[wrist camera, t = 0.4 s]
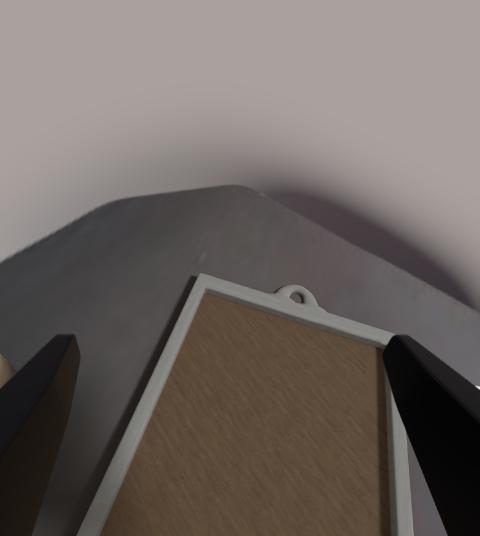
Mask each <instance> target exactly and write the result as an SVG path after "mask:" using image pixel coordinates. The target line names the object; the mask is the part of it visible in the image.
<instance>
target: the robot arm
mask: <svg viewBox="0 0 480 536" xmlns="http://www.w3.org/2000/svg"><path fill="white" fill-rule="evenodd" d="M382 359H383V363H384V366H385V370H386V373H387V377H388V380H389V384H390V387H391V391H392V394H393V397H394V401H395V404H396V407H397V410H398V412H399V415H400V417H401V420H402V422H403V425H404V427H405V430H406V432H407V435H408V437H409V440H410V442H411V445H412V447H413V450H414V452H415V455H416V457H417V460H418V462H419V465H420V467H421V470H422V472H423V475H424V477H425V480H426V482H427V485H428V487H429V490H430V492H431V495H432V497H433V500H434V502H435V505H436V507H437V510H438V512H439V515H440V517H441V520H442V522H443V525H444V527H445V530H446V533H447V535H448V536H480V389H478V388H477V387H476V386H474V385H473V384H472V383H471V382H469V381H468V380H467V379H465V378H464V377H463V376H461V375H460V374H459V373H457V372H456V371H455V370H453V369H452V368H451V367H450V366H448V365H447V364H446V363H444V362H443V361H442V360H440V359H439V358H438V357H436V356H435V355H434V354H432V353H431V352H430V351H429V350H427V349H426V348H425V347H423V346H422V345H421V344H419V343H418V342H417V341H415V340H414V339H413V338H411V337H410V336H408V335H394V336H392V337H391V339H390V340H389V342H388V344H387V345H386V347H385V348H384V350H383V352H382ZM79 364H80V351H79V347H78V343H77V339H76V336H75V335H74V334H57V335H55V336H54V337H53V338H52V339H51V340H50V341H49V342H48V343H47V344H46V345H45V346H43V347H42V348H41V349H40V350H39V351H38V352H37V353H36V354H35V355H34V356H33V357H32V358H31V359H30V360H29V361H28V362H27V363H26V364H25V365H24V366H23V367H22V368H21V369H20V370H18V371H17V372H16V373H15V374H14V375H13V376H12V377H11V378H10V379H9V380H8V381H7V382H6V383H5V384H4V385H3V386H2V387H1V388H0V536H31V535H32V532H33V529H34V526H35V523H36V519H37V516H38V513H39V510H40V507H41V504H42V501H43V498H44V495H45V492H46V488H47V485H48V482H49V479H50V476H51V473H52V470H53V467H54V464H55V460H56V457H57V454H58V451H59V448H60V445H61V442H62V439H63V436H64V433H65V429H66V426H67V422H68V419H69V414H70V410H71V405H72V400H73V395H74V390H75V385H76V379H77V374H78V369H79Z"/></svg>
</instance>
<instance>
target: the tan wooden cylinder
mask: <svg viewBox="0 0 480 536" xmlns="http://www.w3.org/2000/svg"><path fill="white" fill-rule="evenodd" d="M15 373H16V370H15V369H14V368H13V367H12V365H11V364H10V363H9V362H8V361H7V360H6V359H5V358H4V357H3V356H2V354H1V353H0V388H1V387H2V386H3V385H4V384H5V383H6V382H7V381H8V380H9V379H10V378H11V377H12V376H13V375H14V374H15Z"/></svg>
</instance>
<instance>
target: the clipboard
mask: <svg viewBox="0 0 480 536" xmlns="http://www.w3.org/2000/svg"><path fill="white" fill-rule="evenodd" d="M292 293H297V294H300V295H301V296H302V297H303V301H304V302H303V304H298V303H295V302H294V301H293V300H292V299H290V295H291V294H292ZM394 335H397V334H394V333H391V332H388V331H385V330H381V329H378V328H375V327H372V326H369V325H365V324H362V323H359V322H356V321H353V320H349V319H346V318H343V317H340V316H337V315H334V314H330V313H327V312H326V311H325V310H324V309H322V308H320V307H318V304H317V302H316V300H315V298H314V297H313V295H312V294H311V293H310V292H309V291H308V290H307V289H305V288H304V287H302V286H299V285H287V286H284V287H282V288H280V289H279V290H278V291H277V292H276V293H275V294H273V293H271V294H267V293H263V292H260V291H257V290H254V289H251V288H247V287H244V286H241V285H238V284H235V283H232V282H228V281H225V280H222V279H219V278H216V277H212V276H209V275H206V274H202V273H200V274H199V275H198V277H197V279H196V281H195V283H194V285H193V288H192V290H191V292H190V294H189V296H188V298H187V300H186V303H185V305H184V307H183V309H182V311H181V313H180V315H179V317H178V320H177V322H176V324H175V326H174V328H173V330H172V332H171V335H170V337H169V339H168V341H167V343H166V345H165V347H164V350H163V352H162V354H161V356H160V358H159V360H158V362H157V364H156V367H155V369H154V371H153V373H152V375H151V377H150V379H149V382H148V384H147V386H146V388H145V390H144V392H143V394H142V396H141V399H140V401H139V403H138V405H137V407H136V409H135V411H134V414H133V416H132V418H131V420H130V422H129V424H128V426H127V429H126V431H125V433H124V435H123V437H122V439H121V441H120V443H119V446H118V448H117V450H116V452H115V454H114V456H113V458H112V461H111V463H110V465H109V467H108V469H107V471H106V473H105V475H104V478H103V480H102V482H101V484H100V486H99V488H98V490H97V493H96V495H95V497H94V499H93V501H92V503H91V505H90V508H89V510H88V512H87V514H86V516H85V518H84V520H83V522H82V525H81V527H80V529H79V531H78V533H77V535H76V536H414V534H413V521H412V507H411V494H410V481H409V467H408V454H407V440H406V430H405V427H404V425H403V422H402V420H401V417H400V415H399V412H398V410H397V407H396V404H395V401H394V397H393V394H392V391H391V387H390V384H389V380H388V377H387V373H386V370H385V366H384V363H383V359H382V352H383V350H384V348H385V347H386V345H387V344H388V342H389V340H390V339H391V337H392V336H394Z"/></svg>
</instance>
